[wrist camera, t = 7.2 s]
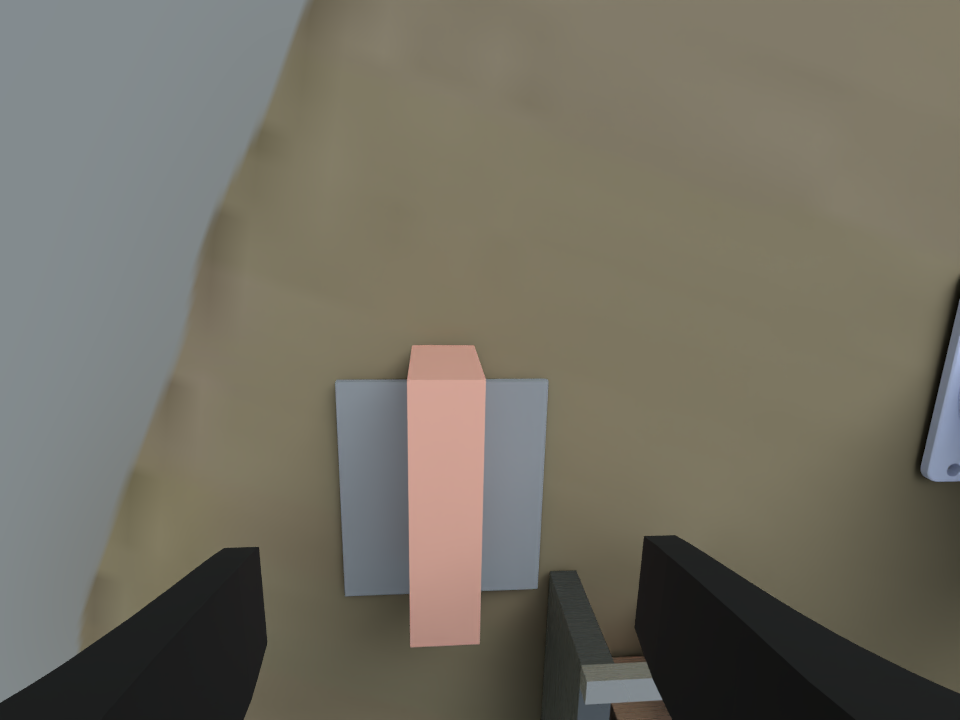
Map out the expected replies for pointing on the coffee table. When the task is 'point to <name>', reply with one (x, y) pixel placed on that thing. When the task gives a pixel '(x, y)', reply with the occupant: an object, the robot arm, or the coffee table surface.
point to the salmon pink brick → (445, 493)
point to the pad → (384, 484)
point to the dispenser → (590, 665)
